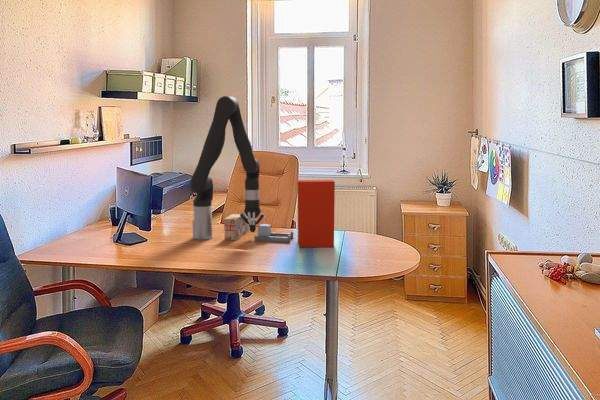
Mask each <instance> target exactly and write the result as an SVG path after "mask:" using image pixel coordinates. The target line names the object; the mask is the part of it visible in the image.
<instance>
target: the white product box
mask: <svg viewBox="0 0 600 400" xmlns="http://www.w3.org/2000/svg"><path fill="white" fill-rule="evenodd" d="M240 214H241V213H238V214H237V213H236V214H235V213H232V214H230V215H229V216H226V217H225V218H224V219H223V220H224V223H223V224H224V226H223V227H224V228H223V229H224V240H225V241H237V240H239V239H240V238H242V237H243V236H244V235H245V234H247V233H248V232H250V225H249V224H246V222H245V221H244V220H243V219H242V217H241V216H240ZM246 217H247V216H246ZM247 219H248V220H249V218H248V217H247Z"/></svg>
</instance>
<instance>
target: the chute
mask: <svg viewBox="0 0 600 400" xmlns="http://www.w3.org/2000/svg"><path fill="white" fill-rule="evenodd" d="M291 239H292V240H293V239H294V231H293V230H291V231H290V233H289V232H288V233H287V232H271V236H258V235H254V240H253V241H254V242H267V243H268V242H269V243H287V244H288V243H291Z"/></svg>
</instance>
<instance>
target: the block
mask: <svg viewBox="0 0 600 400" xmlns="http://www.w3.org/2000/svg"><path fill="white" fill-rule="evenodd" d="M271 233H272V224H270V223H269V224H267V223H261V224H259V225H258V226H257V236H271Z"/></svg>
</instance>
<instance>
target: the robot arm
mask: <svg viewBox="0 0 600 400" xmlns="http://www.w3.org/2000/svg"><path fill="white" fill-rule="evenodd" d="M212 118H213V119H212V122H211V125H210V127H209V129H208V133H207V136H206V138H205V140H204V143H203V147H202V150H201V153H200V156H199V159H198V163H197V166H196V167H195V169H194V172H193V174H192V176H191V179H190V182H189V187H190V190H191V192H193V193H195V194H196V195H195V198H194V199H193V201H192V202H193V205H192V207H193V220H192V239H194V240H198V241H204V240H211V239H213V211H212V210H213V207H212V204H213V203H212V202H213V198H214V182H213V181H214V180H213V179H212V177H211V176H210V173H211V170H212V168H213V167H214V165H215V164H216V162H217V161H218V159H219V158H220V156H221V154H222V152H223V149H224V147H225V146H224V145H225V142H226V130H227V129H226V128H227V125H228V122H229V123H230V125H231V130H232V135H233V141H234V144H235V147H236V149H237V151H238V154H239V157H240V160H241V164H242V168H243V169H244V171H245V172H246V173H245V174H246V176H245V179H244V210H243V212H241V213H239V214H240V216H241V217H242V219H243V220H244V221H245V222H246V224H249V232H250V233H254V232H255V231H256V230H257V225H258V224H259V223H260V222H261V221H262V220H263V218H265V215H266V214H265V213H263V212H262V210H261V202H260V201H261V199H260V198H261V194H260V181H259V180H260V165H261V164H260V161H259V160H257V159H256V157H255V155H254V154H253V153H254V152H253V147H252V143H251V141H250V138H249V136H248V134H247V130H246V127H245V125H244V122H243V118H242V113H241V109H240V104H239V102H238V100H237V98H236V97H234V96H232V95H231V96H230V95H224V96H221V97H220V98H219V99H217V101H216V104H215V109H214V114H213V117H212ZM247 217H248V219H247Z"/></svg>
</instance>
